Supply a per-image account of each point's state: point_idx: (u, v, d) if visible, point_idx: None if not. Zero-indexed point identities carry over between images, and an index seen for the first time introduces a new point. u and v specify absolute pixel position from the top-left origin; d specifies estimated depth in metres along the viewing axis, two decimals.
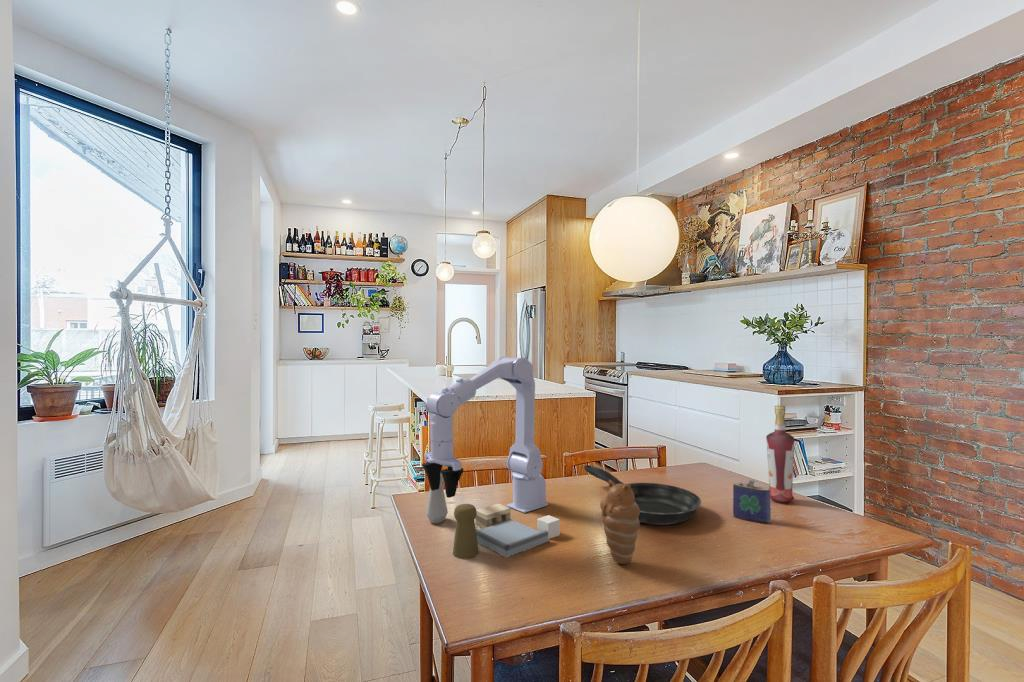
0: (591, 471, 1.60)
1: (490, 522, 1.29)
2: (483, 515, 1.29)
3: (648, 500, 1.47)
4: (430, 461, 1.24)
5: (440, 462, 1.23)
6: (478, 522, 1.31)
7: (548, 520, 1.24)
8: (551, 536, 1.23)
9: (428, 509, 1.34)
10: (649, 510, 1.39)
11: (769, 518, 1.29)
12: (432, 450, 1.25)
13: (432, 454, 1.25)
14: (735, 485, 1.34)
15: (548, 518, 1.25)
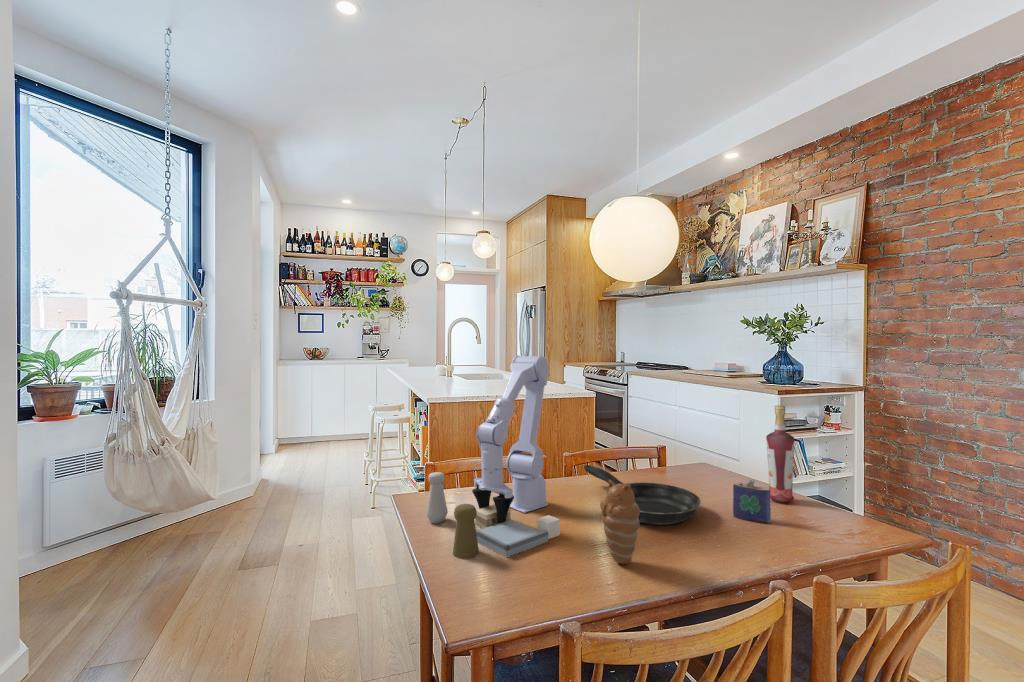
0: (591, 471, 1.60)
1: (490, 522, 1.29)
2: (483, 515, 1.29)
3: (648, 500, 1.47)
4: (482, 488, 1.29)
5: (492, 489, 1.29)
6: (478, 522, 1.31)
7: (548, 520, 1.24)
8: (551, 536, 1.23)
9: (428, 509, 1.34)
10: (649, 510, 1.39)
11: (769, 518, 1.29)
12: (483, 478, 1.30)
13: (483, 482, 1.31)
14: (735, 485, 1.34)
15: (548, 518, 1.25)
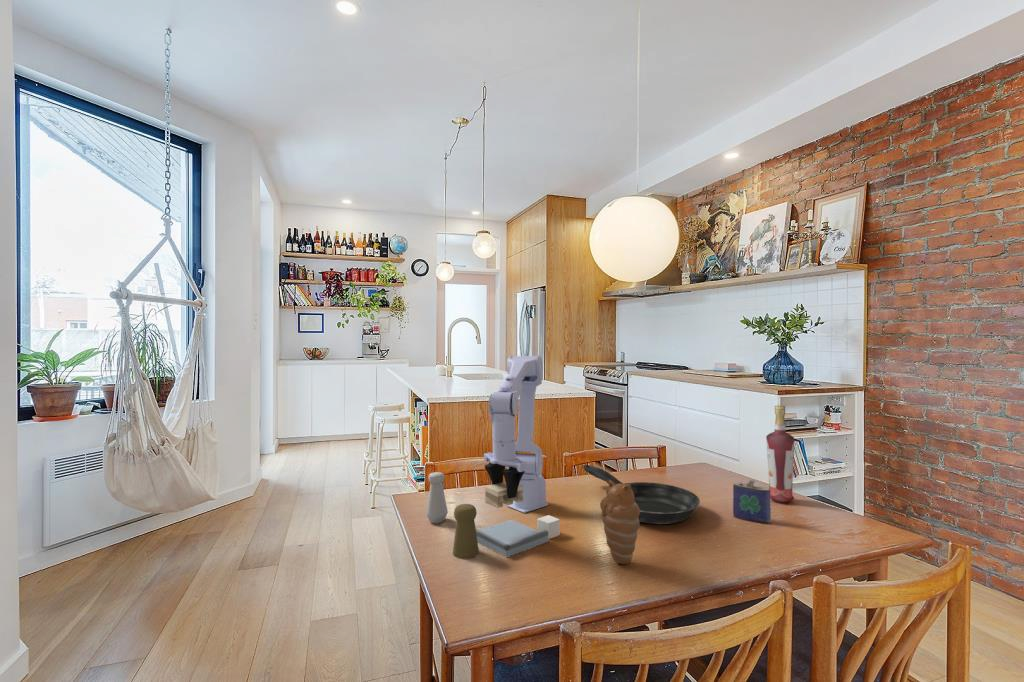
0: (590, 471, 1.60)
1: (501, 499, 1.20)
2: (494, 491, 1.20)
3: (647, 500, 1.47)
4: (493, 462, 1.21)
5: (504, 463, 1.20)
6: (488, 500, 1.22)
7: (548, 520, 1.24)
8: (551, 536, 1.23)
9: (428, 509, 1.34)
10: (648, 509, 1.40)
11: (769, 518, 1.29)
12: (495, 450, 1.22)
13: (494, 455, 1.22)
14: (735, 485, 1.34)
15: (548, 518, 1.25)
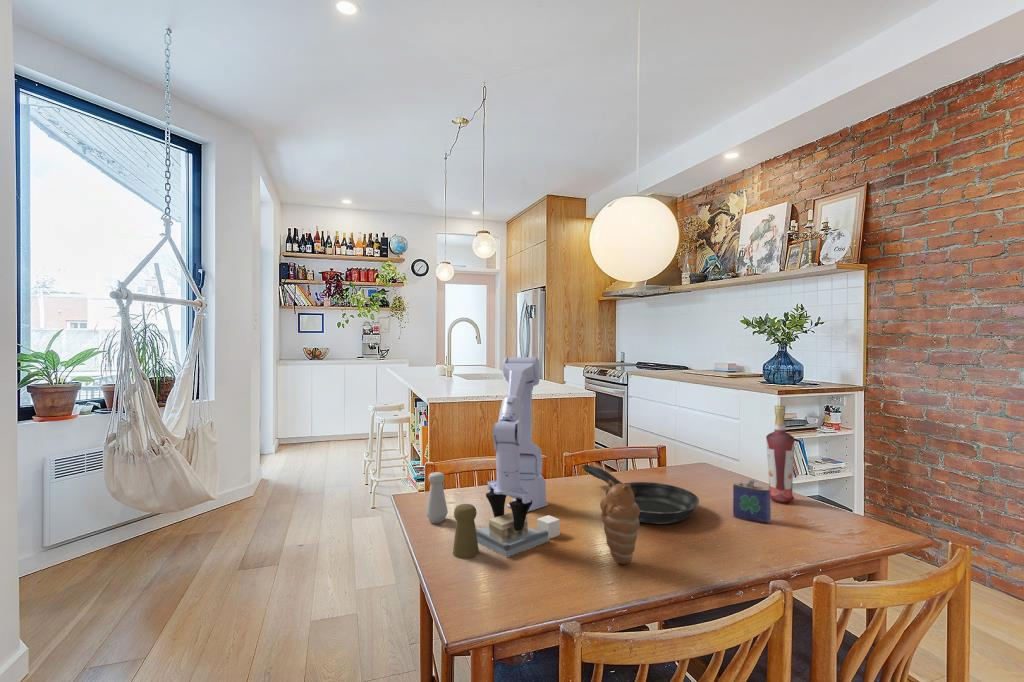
0: (590, 470, 1.60)
1: (506, 532, 1.18)
2: (498, 525, 1.18)
3: (646, 499, 1.48)
4: (497, 492, 1.19)
5: (508, 494, 1.18)
6: (492, 533, 1.20)
7: (548, 520, 1.24)
8: (551, 536, 1.23)
9: (428, 509, 1.34)
10: (647, 509, 1.40)
11: (769, 518, 1.29)
12: (499, 481, 1.20)
13: (498, 485, 1.20)
14: (735, 485, 1.34)
15: (548, 518, 1.25)
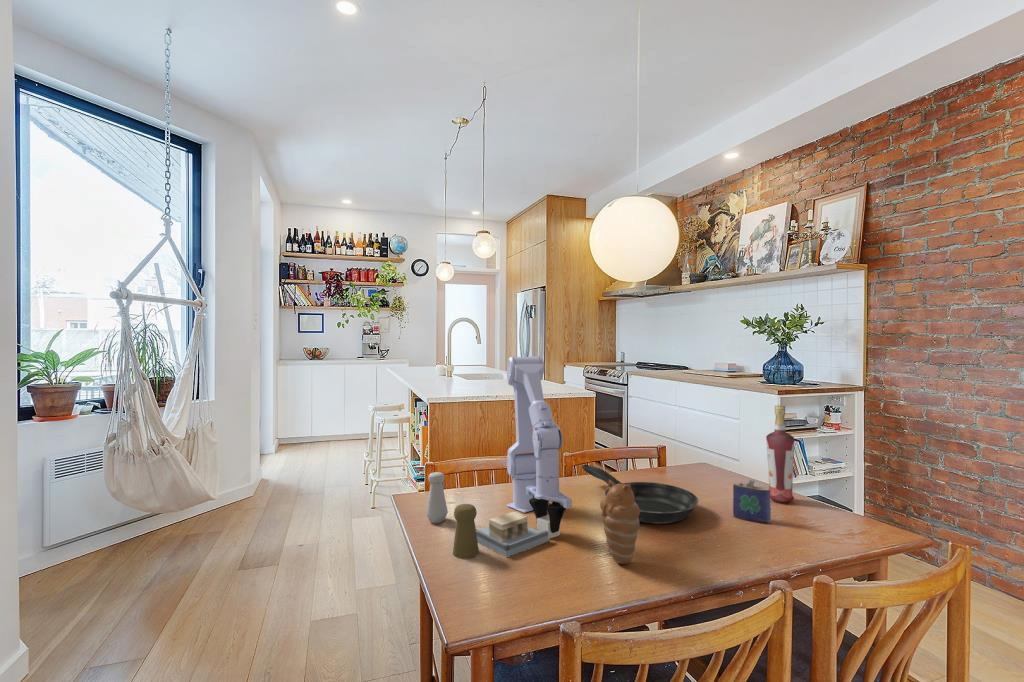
0: (589, 470, 1.61)
1: (506, 532, 1.18)
2: (498, 525, 1.18)
3: (646, 499, 1.48)
4: (538, 497, 1.22)
5: (549, 498, 1.21)
6: (492, 533, 1.20)
7: (548, 519, 1.24)
8: (551, 536, 1.23)
9: (428, 509, 1.34)
10: (647, 509, 1.40)
11: (769, 518, 1.29)
12: (539, 486, 1.23)
13: (539, 490, 1.23)
14: (735, 485, 1.34)
15: (548, 518, 1.25)
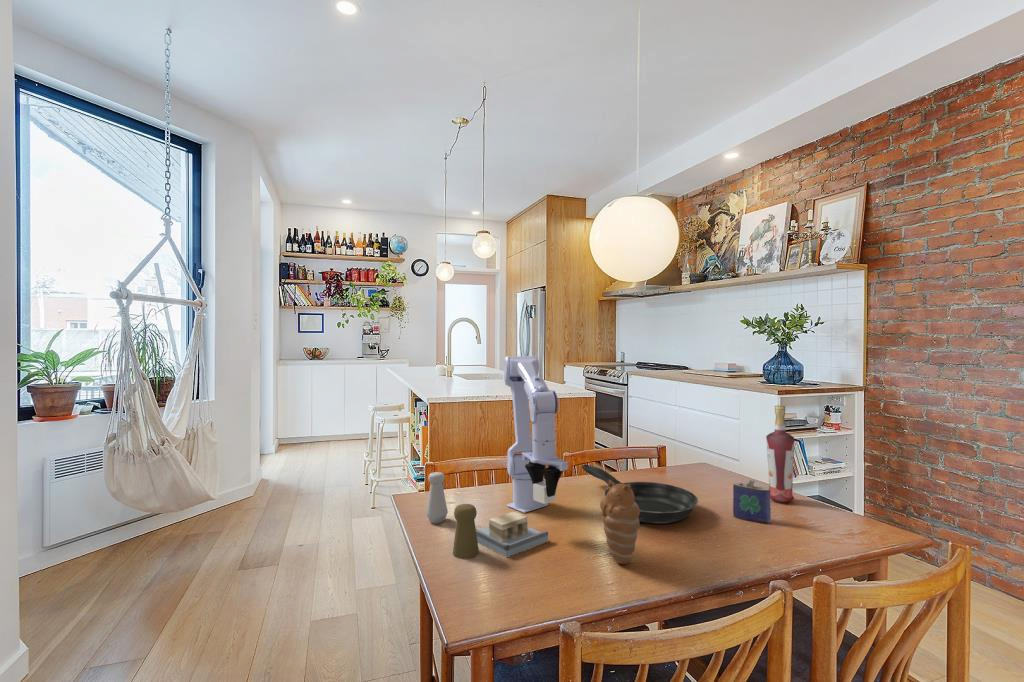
0: (589, 470, 1.61)
1: (506, 532, 1.18)
2: (498, 525, 1.18)
3: (645, 499, 1.48)
4: (534, 461, 1.21)
5: (545, 462, 1.21)
6: (492, 533, 1.20)
7: (544, 485, 1.24)
8: (547, 500, 1.22)
9: (428, 509, 1.34)
10: (646, 509, 1.40)
11: (769, 518, 1.29)
12: (535, 450, 1.22)
13: (535, 454, 1.23)
14: (735, 485, 1.34)
15: (544, 483, 1.25)
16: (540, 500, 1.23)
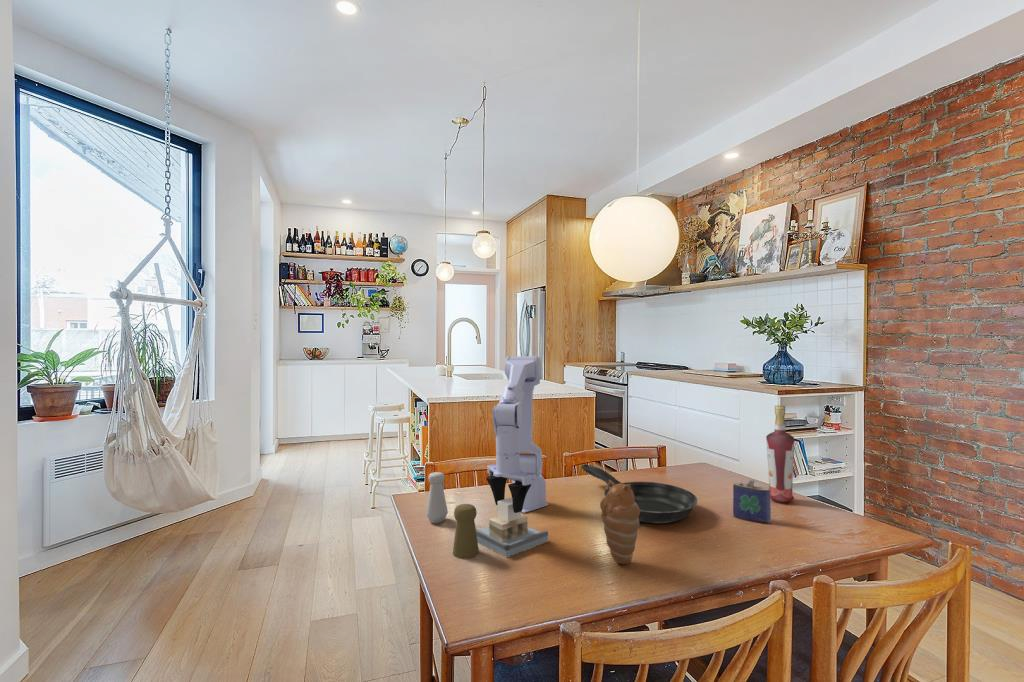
0: (588, 470, 1.61)
1: (506, 532, 1.18)
2: (498, 525, 1.18)
3: (645, 499, 1.48)
4: (497, 475, 1.19)
5: (508, 476, 1.18)
6: (492, 533, 1.20)
7: (509, 502, 1.21)
8: (511, 518, 1.20)
9: (428, 509, 1.34)
10: (646, 509, 1.40)
11: (769, 518, 1.29)
12: (499, 463, 1.20)
13: (498, 468, 1.20)
14: (735, 485, 1.34)
15: (509, 501, 1.22)
16: (504, 518, 1.20)
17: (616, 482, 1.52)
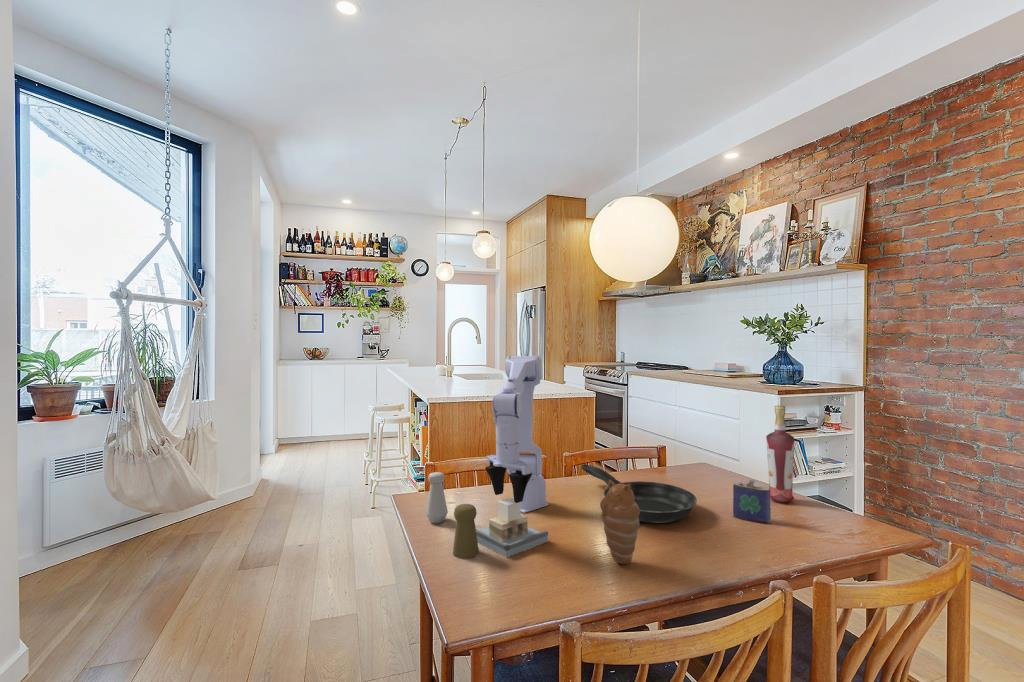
0: (588, 470, 1.61)
1: (506, 532, 1.18)
2: (498, 525, 1.18)
3: (644, 499, 1.48)
4: (497, 465, 1.18)
5: (508, 466, 1.18)
6: (492, 533, 1.20)
7: (509, 502, 1.21)
8: (511, 518, 1.20)
9: (428, 509, 1.34)
10: (645, 508, 1.41)
11: (769, 518, 1.29)
12: (498, 453, 1.20)
13: (498, 458, 1.20)
14: (735, 485, 1.34)
15: (509, 501, 1.22)
16: (504, 518, 1.20)
17: (616, 482, 1.52)
